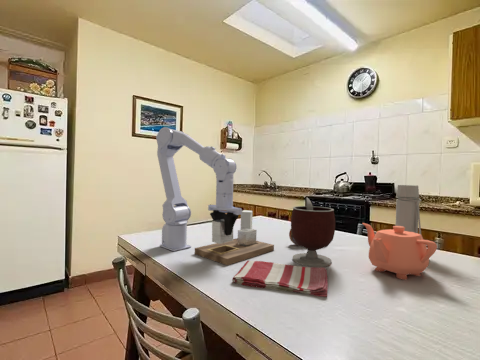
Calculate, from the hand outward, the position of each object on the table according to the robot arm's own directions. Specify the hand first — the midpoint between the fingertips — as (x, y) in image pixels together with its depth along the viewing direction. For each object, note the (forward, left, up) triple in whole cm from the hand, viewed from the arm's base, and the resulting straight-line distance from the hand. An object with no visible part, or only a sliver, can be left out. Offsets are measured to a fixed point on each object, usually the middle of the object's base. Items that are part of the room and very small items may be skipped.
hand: (223, 233), depth 90 cm
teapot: (+45, +26, -8) cm, 53 cm away
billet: (0, 0, -2) cm, 2 cm away
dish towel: (+25, -2, -8) cm, 26 cm away
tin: (+12, +35, -8) cm, 38 cm away
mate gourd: (+23, +18, -8) cm, 30 cm away
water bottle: (+44, +52, -8) cm, 69 cm away
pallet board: (0, +6, -7) cm, 10 cm away
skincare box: (-11, +24, -8) cm, 27 cm away
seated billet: (0, +12, -7) cm, 14 cm away
